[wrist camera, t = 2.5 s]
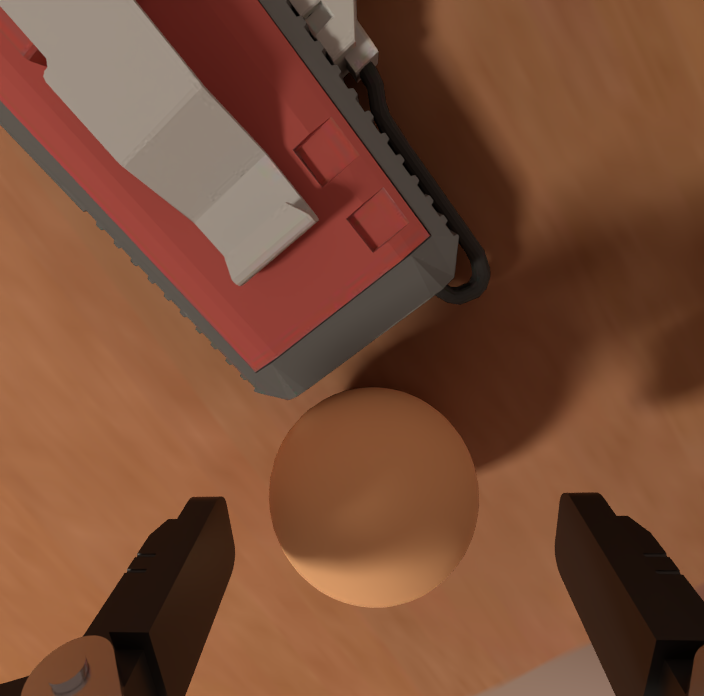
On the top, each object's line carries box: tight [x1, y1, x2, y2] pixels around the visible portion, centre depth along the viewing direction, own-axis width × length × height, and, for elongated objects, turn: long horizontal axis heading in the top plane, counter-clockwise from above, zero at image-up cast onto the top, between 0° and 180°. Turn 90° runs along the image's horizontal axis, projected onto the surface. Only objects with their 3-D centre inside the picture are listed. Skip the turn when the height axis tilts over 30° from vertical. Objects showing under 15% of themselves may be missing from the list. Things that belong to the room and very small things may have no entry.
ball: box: [269, 387, 479, 608], centre depth 12 cm, size 6×6×6 cm
